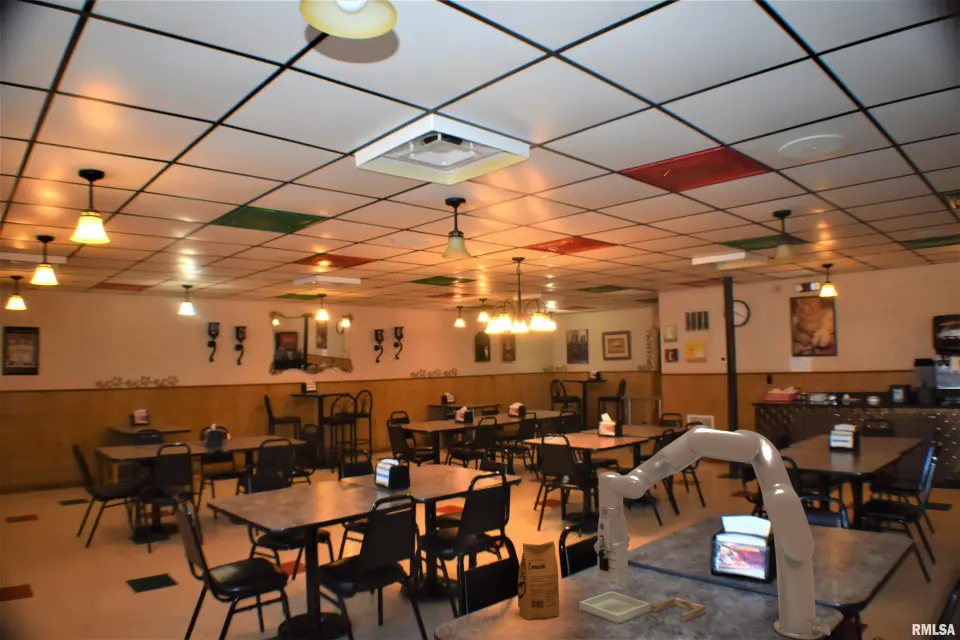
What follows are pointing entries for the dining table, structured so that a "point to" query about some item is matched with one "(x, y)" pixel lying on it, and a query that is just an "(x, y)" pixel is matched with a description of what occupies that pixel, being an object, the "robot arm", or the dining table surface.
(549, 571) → the coffee package
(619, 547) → the supplement box
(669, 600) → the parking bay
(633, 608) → the tray
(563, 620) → the dining table surface
